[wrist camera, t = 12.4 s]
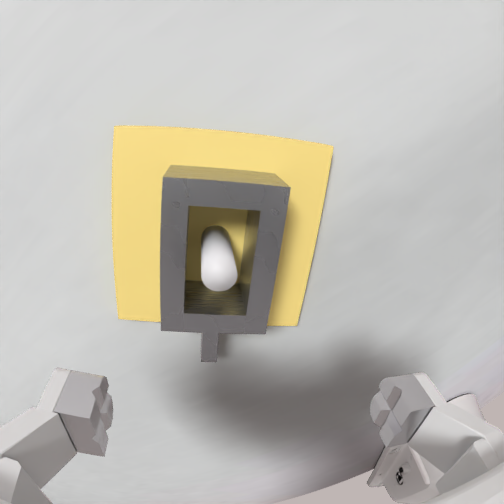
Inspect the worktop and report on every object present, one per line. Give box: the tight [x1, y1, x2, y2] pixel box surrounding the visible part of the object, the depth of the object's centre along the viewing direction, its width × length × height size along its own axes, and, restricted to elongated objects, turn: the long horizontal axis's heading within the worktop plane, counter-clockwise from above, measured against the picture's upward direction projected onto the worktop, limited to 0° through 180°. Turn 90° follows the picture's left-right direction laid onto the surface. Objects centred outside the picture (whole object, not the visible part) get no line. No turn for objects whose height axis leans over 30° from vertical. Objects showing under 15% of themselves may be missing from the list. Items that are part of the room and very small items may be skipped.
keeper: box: [112, 126, 333, 326], centre depth 17 cm, size 12×12×6 cm
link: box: [160, 165, 291, 362], centre depth 18 cm, size 12×6×4 cm, turn 173°
